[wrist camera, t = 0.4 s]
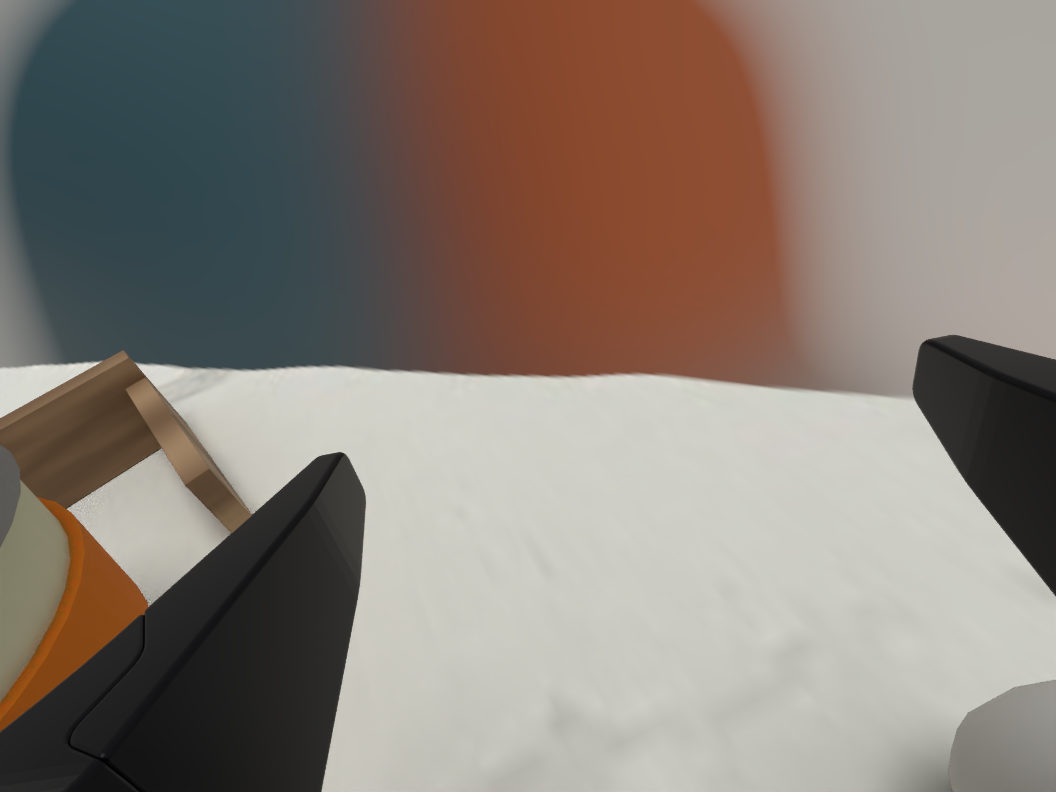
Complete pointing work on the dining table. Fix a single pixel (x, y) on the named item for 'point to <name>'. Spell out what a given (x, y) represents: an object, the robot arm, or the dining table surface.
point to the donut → (1008, 743)
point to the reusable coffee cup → (51, 594)
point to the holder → (110, 439)
